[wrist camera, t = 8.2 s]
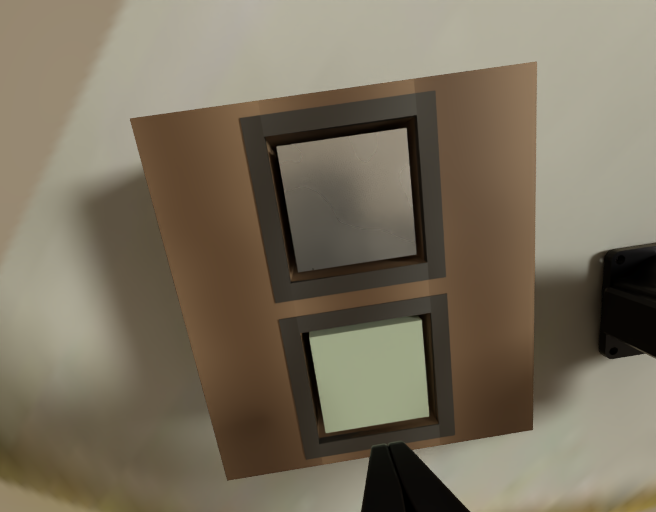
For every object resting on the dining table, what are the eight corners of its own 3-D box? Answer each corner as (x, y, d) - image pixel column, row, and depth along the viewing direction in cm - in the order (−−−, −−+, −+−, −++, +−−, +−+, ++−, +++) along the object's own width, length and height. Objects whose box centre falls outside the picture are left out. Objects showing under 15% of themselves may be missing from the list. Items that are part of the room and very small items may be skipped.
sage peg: (383, 274, 16) (421, 320, 11) (390, 341, 17) (429, 416, 12) (310, 285, 16) (309, 337, 11) (321, 352, 17) (325, 433, 12)
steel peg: (370, 150, 15) (406, 127, 9) (378, 230, 16) (416, 254, 10) (289, 162, 15) (276, 146, 9) (302, 242, 16) (298, 272, 10)
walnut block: (447, 111, 15) (537, 61, 9) (459, 350, 18) (533, 430, 12) (202, 146, 15) (128, 118, 9) (255, 382, 17) (227, 481, 12)
